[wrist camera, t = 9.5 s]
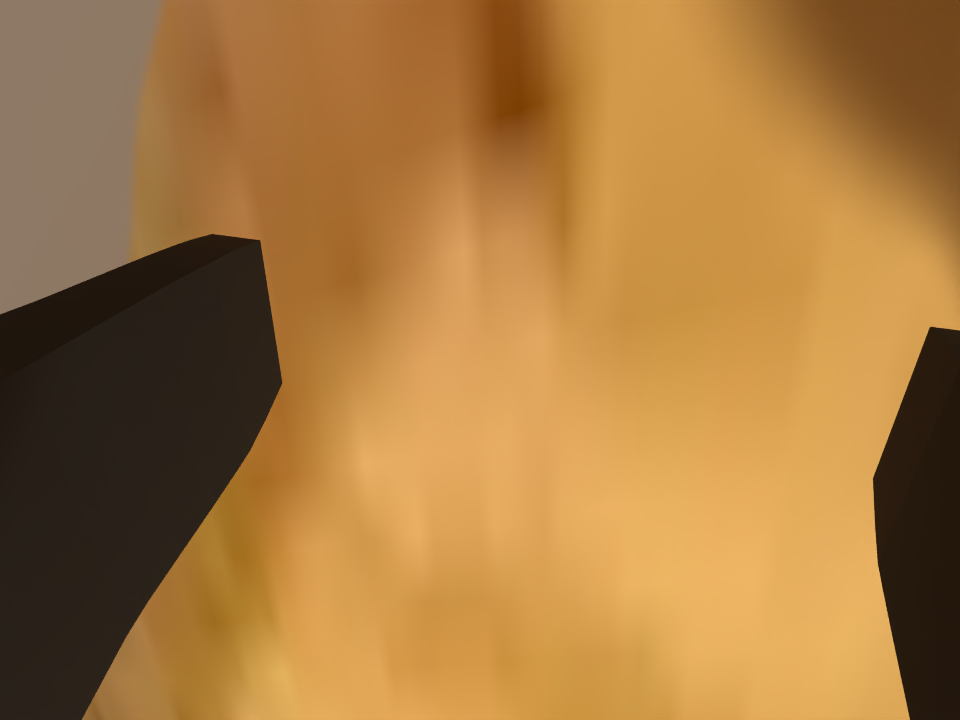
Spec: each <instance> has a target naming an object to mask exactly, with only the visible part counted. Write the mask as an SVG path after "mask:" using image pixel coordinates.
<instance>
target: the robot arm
mask: <svg viewBox="0 0 960 720" xmlns="http://www.w3.org/2000/svg"><path fill="white" fill-rule="evenodd" d="M281 385H282V378H281V371H280V365H279V359H278V352H277V346H276V339H275V333H274V326H273V320H272V314H271V307H270V301H269V294H268V288H267V281H266V275H265V269H264V262H263V256H262V249H261V243H260V240H254V239H246V238H238V237H231V236H223V235H215V234H210V235H207V236H203V237H199V238H196V239H192V240H189V241H186V242H183V243H180V244H177V245H175V246H172V247H169V248H166V249H164V250H161V251H158V252H156V253H153V254H151V255H148V256H146V257H143V258H141V259H138V260H136V261H133V262H131V263H128V264H126V265H123V266H121V267H118V268H116V269H114V270H111V271H109V272H106V273H104V274H102V275H99V276H96V277H94V278H92V279H89V280H87V281H84V282H82V283H80V284H77V285H74V286H72V287H70V288H67V289H65V290H62V291H60V292H57V293H55V294H52V295H50V296H48V297H45V298H43V299H40V300H38V301H35V302H33V303H30V304H27V305H24V306H22V307H19V308H16V309H14V310H11V311H8V312H6V313H3V314H0V720H82V718H83V716H84V714H85V712H86V710H87V709H88V707H89V705H90V703H91V701H92V699H93V697H94V696H95V694H96V692H97V690H98V688H99V686H100V684H101V683H102V681H103V679H104V677H105V675H106V673H107V671H108V669H109V668H110V666H111V664H112V662H113V660H114V658H115V656H116V655H117V653H118V651H119V649H120V647H121V645H122V643H123V642H124V640H125V638H126V636H127V635H128V633H129V631H130V630H131V628H132V627H133V625H134V623H135V622H136V620H137V618H138V617H139V615H140V614H141V612H142V610H143V609H144V607H145V606H146V604H147V602H148V601H149V599H150V598H151V596H152V595H153V593H154V592H155V591H156V589H157V588H158V586H159V585H160V583H161V582H162V580H163V579H164V577H165V576H166V574H167V573H168V572H169V570H170V569H171V567H172V566H173V564H174V563H175V561H176V560H177V558H178V557H179V555H180V554H181V553H182V551H183V550H184V548H185V547H186V545H187V544H188V542H189V541H190V539H191V538H192V536H193V535H194V534H195V532H196V531H197V529H198V528H199V526H200V525H201V523H202V522H203V520H204V519H205V518H206V516H207V515H208V513H209V512H210V510H211V509H212V507H213V506H214V504H215V503H216V501H217V500H218V498H219V497H220V495H221V494H222V492H223V491H224V489H225V488H226V486H227V485H228V483H229V482H230V480H231V479H232V477H233V476H234V474H235V473H236V472H237V470H238V469H239V467H240V465H241V464H242V462H243V461H244V459H245V458H246V456H247V455H248V453H249V451H250V450H251V448H252V446H253V444H254V442H255V440H256V438H257V436H258V434H259V432H260V430H261V428H262V426H263V424H264V422H265V420H266V418H267V415H268V413H269V411H270V409H271V407H272V404H273V402H274V400H275V398H276V396H277V394H278V391H279V389H280V387H281ZM873 489H874V511H875V530H876V544H877V557H878V566H879V572H880V577H881V582H882V587H883V592H884V597H885V602H886V607H887V612H888V617H889V622H890V627H891V632H892V636H893V641H894V646H895V651H896V655H897V660H898V665H899V669H900V674H901V679H902V684H903V688H904V693H905V698H906V702H907V707H908V712H909V717H910V720H960V331H959V330H951V329H943V328H936V327H930V328H929V331H928V334H927V336H926V339H925V342H924V344H923V347H922V350H921V352H920V355H919V358H918V360H917V363H916V366H915V368H914V371H913V374H912V376H911V379H910V382H909V384H908V387H907V390H906V392H905V395H904V398H903V400H902V403H901V405H900V408H899V411H898V413H897V416H896V419H895V421H894V424H893V427H892V429H891V432H890V435H889V437H888V440H887V443H886V445H885V448H884V451H883V453H882V456H881V459H880V461H879V464H878V467H877V469H876V472H875V475H874V477H873Z"/></svg>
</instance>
